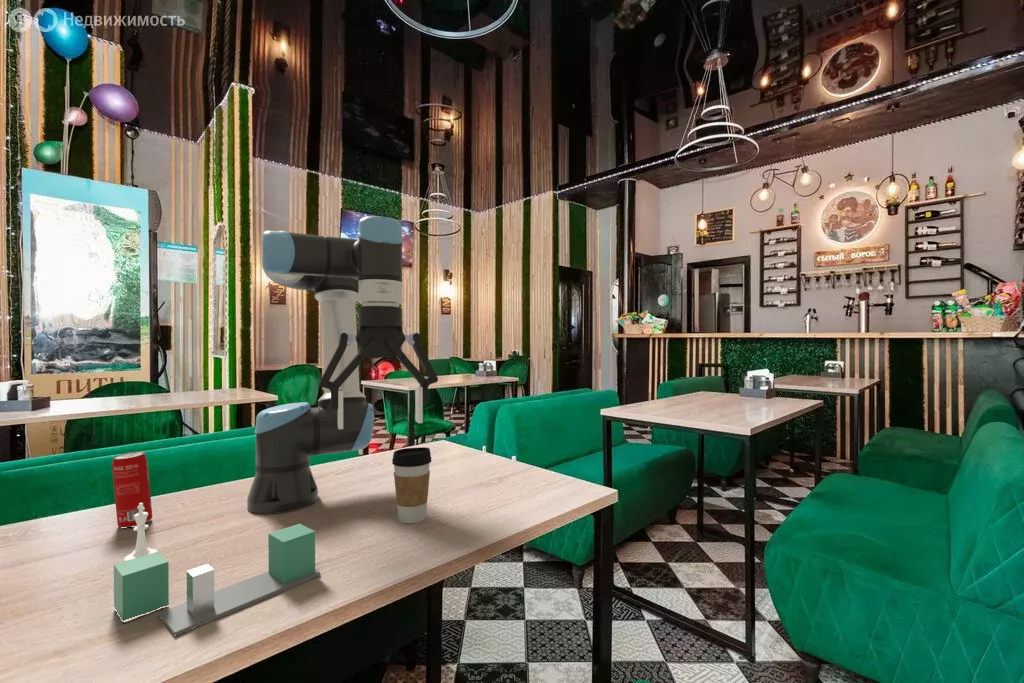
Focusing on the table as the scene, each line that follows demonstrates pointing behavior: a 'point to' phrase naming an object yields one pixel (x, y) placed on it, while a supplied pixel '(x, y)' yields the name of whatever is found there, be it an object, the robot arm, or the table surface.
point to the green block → (141, 585)
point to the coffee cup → (411, 483)
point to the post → (200, 589)
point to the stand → (257, 579)
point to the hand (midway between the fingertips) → (381, 424)
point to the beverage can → (131, 487)
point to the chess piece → (140, 535)
